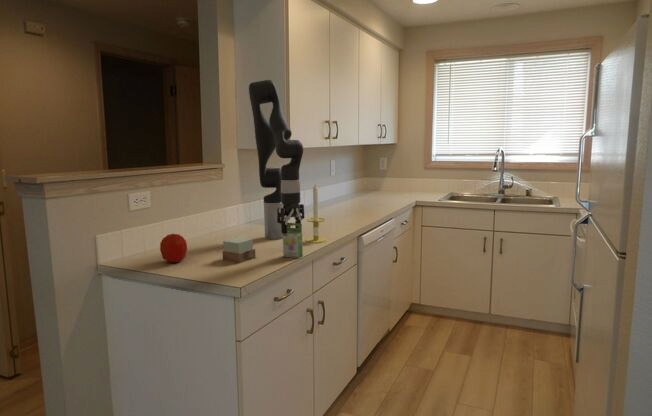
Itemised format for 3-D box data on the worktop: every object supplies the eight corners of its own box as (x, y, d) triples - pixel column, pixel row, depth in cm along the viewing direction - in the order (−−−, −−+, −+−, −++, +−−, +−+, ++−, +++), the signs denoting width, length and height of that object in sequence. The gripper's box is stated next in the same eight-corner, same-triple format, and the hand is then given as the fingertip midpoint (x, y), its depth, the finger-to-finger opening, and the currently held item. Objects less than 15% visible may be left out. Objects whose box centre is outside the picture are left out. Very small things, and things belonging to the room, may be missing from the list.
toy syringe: (312, 237, 220) (311, 181, 216) (331, 239, 215) (330, 182, 211) (301, 241, 212) (300, 183, 208) (319, 243, 207) (318, 184, 203)
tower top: (237, 246, 187) (237, 237, 187) (252, 249, 183) (252, 239, 183) (223, 251, 180) (223, 241, 180) (239, 253, 176) (238, 243, 176)
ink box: (282, 257, 185) (282, 224, 183) (288, 254, 188) (287, 222, 186) (298, 258, 182) (297, 225, 180) (302, 256, 185) (302, 223, 183)
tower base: (239, 256, 188) (238, 246, 188) (255, 258, 184) (255, 249, 183) (222, 261, 181) (222, 251, 180) (239, 264, 176) (239, 253, 176)
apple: (156, 261, 180) (154, 232, 178) (180, 257, 187) (178, 229, 185) (168, 266, 173) (166, 236, 171) (192, 261, 180) (191, 232, 178)
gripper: (294, 189, 189) (295, 228, 191) (271, 192, 177) (272, 234, 179) (309, 190, 185) (309, 230, 187) (286, 193, 173) (287, 235, 175)
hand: (291, 231), depth 183 cm, fingers open, 8 cm apart
